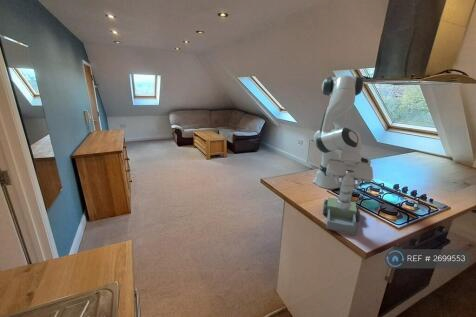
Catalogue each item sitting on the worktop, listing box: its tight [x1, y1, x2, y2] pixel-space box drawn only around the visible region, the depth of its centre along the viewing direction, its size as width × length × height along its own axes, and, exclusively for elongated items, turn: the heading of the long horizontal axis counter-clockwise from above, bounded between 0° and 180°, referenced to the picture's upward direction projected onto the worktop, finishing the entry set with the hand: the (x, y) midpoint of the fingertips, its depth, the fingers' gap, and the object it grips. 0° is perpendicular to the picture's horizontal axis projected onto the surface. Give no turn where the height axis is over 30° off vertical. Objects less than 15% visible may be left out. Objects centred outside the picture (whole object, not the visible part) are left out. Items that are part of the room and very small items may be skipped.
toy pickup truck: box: [322, 197, 361, 236], centre depth 115 cm, size 23×17×6 cm
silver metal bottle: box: [337, 170, 356, 211], centre depth 106 cm, size 6×7×20 cm
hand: (347, 186), depth 104 cm, fingers closed on silver metal bottle, 6 cm apart
